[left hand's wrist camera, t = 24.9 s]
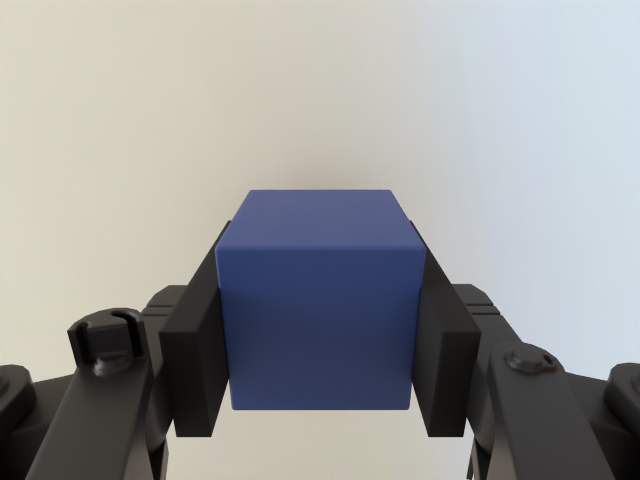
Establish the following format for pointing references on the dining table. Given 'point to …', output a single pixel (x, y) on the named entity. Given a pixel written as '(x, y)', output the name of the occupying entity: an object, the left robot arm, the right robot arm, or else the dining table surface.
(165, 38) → the dining table surface
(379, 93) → the dining table surface
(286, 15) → the dining table surface
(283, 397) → the block
